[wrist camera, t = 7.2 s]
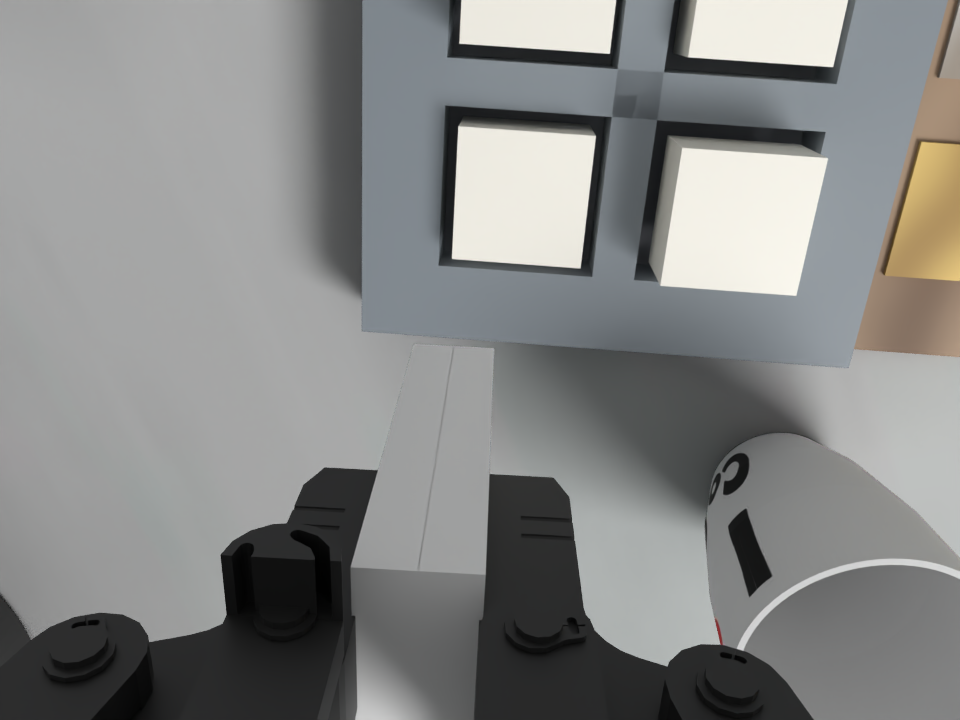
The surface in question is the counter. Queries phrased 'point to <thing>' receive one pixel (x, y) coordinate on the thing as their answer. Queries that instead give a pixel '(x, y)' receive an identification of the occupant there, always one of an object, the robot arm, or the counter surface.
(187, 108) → the counter surface
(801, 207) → the button
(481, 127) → the button
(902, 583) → the cup
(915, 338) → the card
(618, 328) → the button board
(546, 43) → the button
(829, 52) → the button
